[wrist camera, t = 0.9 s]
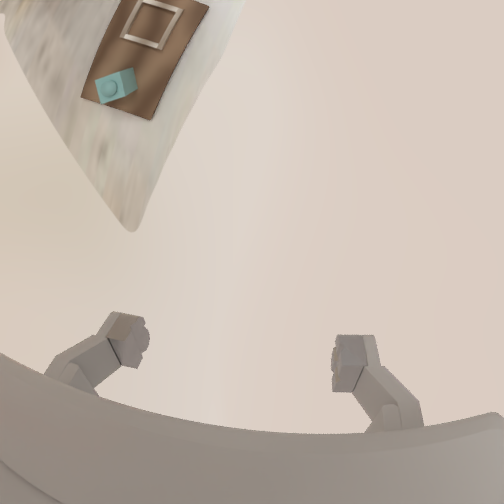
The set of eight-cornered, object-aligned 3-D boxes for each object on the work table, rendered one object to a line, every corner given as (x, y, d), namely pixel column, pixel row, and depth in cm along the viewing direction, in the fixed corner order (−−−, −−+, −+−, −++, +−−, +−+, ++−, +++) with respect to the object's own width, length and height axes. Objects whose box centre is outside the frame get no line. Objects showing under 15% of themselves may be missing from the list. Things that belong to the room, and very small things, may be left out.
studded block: (116, 95, 40) (99, 105, 34) (111, 74, 38) (92, 81, 31) (137, 88, 40) (123, 97, 34) (132, 67, 38) (117, 71, 31)
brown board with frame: (83, 95, 40) (77, 98, 38) (133, -16, 28) (129, -19, 26) (151, 118, 45) (148, 122, 43) (209, 7, 34) (208, 5, 32)
